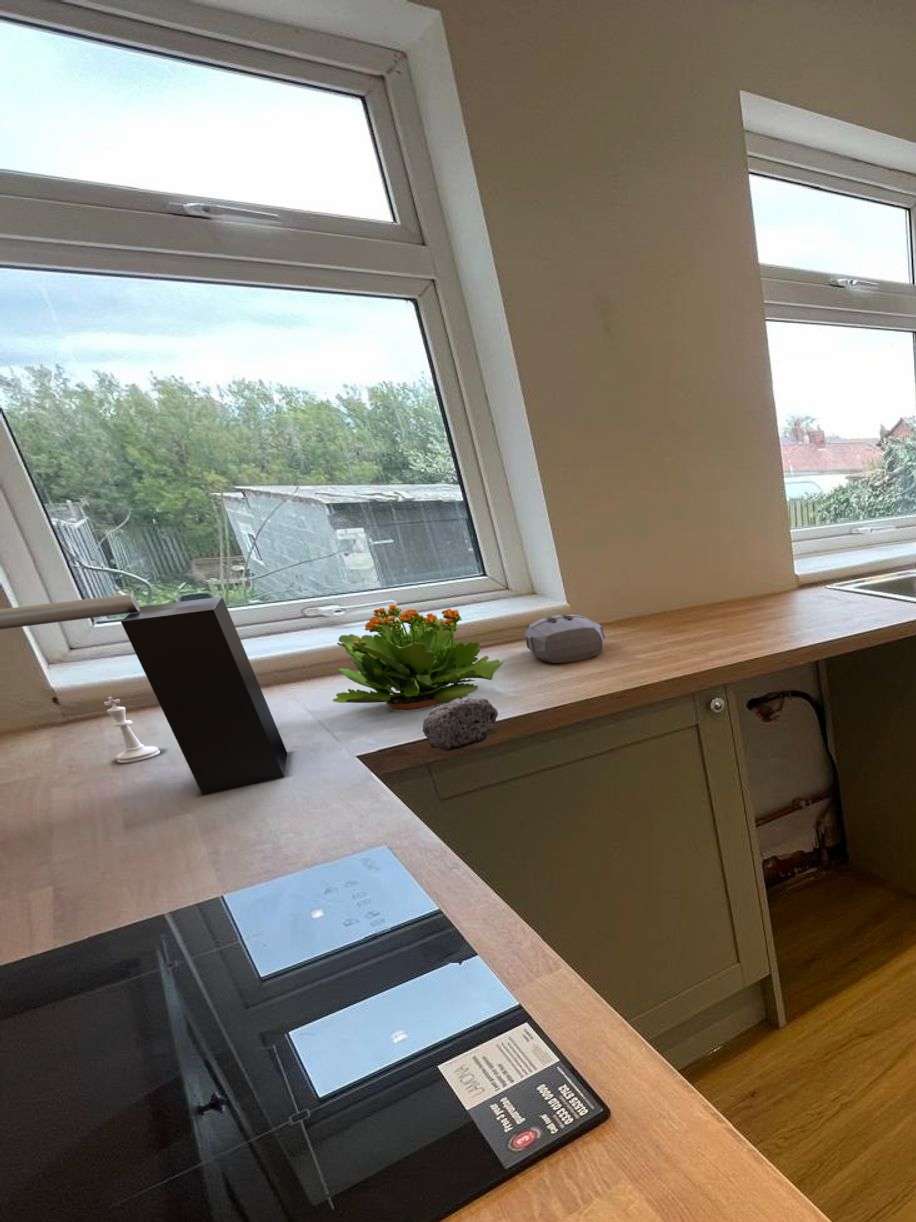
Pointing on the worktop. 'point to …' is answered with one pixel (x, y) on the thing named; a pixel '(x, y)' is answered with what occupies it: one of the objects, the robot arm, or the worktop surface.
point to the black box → (208, 692)
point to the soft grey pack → (564, 638)
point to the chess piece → (129, 736)
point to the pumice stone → (460, 723)
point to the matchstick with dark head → (67, 611)
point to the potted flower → (412, 661)
